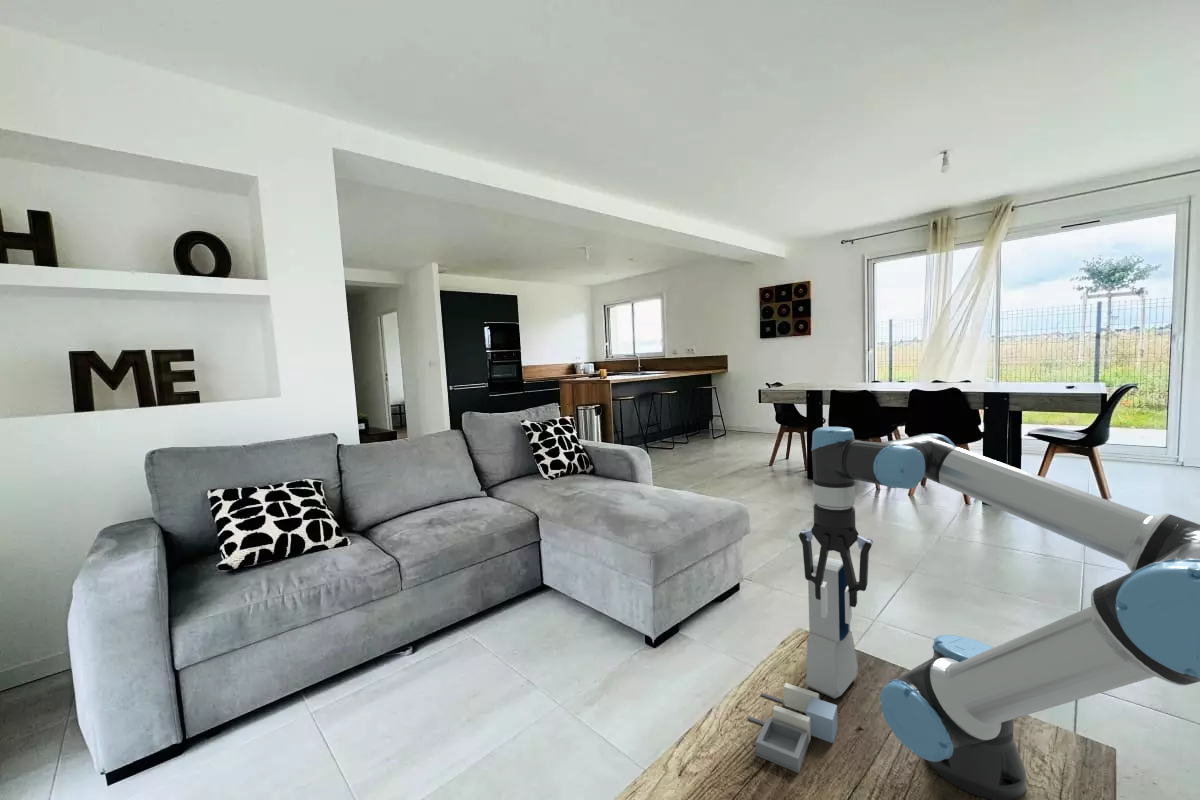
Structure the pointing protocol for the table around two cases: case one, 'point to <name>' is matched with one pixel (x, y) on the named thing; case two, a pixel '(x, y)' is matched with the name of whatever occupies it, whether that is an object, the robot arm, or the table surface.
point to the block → (822, 719)
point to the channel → (795, 707)
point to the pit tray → (782, 744)
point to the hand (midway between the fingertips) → (836, 617)
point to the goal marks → (769, 698)
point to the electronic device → (830, 635)
